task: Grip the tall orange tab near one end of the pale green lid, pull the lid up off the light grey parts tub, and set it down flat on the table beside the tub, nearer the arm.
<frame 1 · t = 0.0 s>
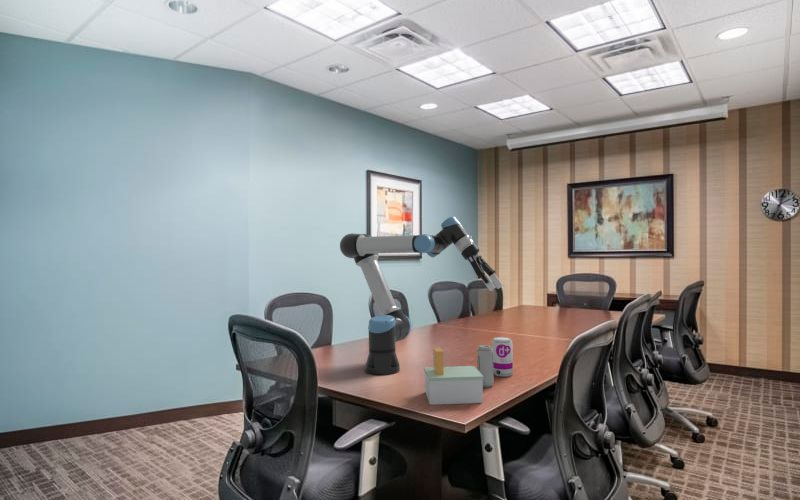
hand: (497, 288, 190), 36 cm above the table, tool tilted 35°, fingers open, 13 cm apart
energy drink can: (485, 386, 174), on the table
lid: (452, 377, 160), point 7 cm above the table, touching tub
tub: (452, 397, 160), on the table
supplement can: (502, 375, 189), on the table
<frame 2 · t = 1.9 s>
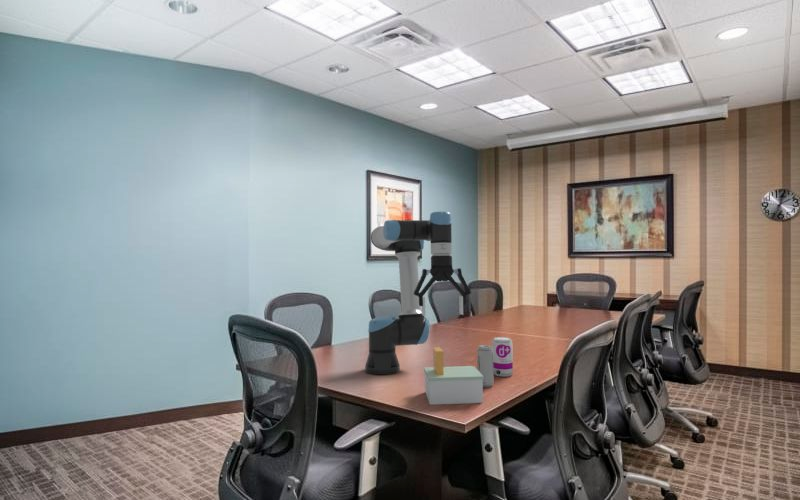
hand: (442, 315, 161), 29 cm above the table, tool pointing down, fingers open, 13 cm apart
nothing on the table moved.
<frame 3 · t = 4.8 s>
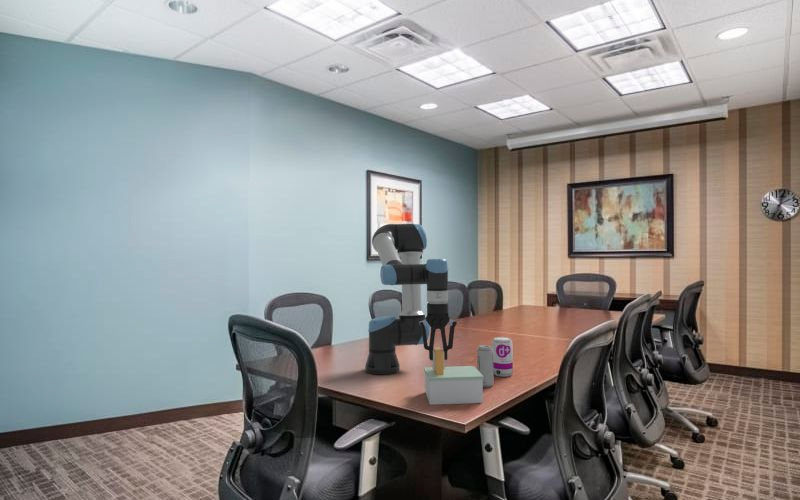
hand: (438, 369, 160), 10 cm above the table, tool pointing down, fingers closed on lid, 2 cm apart
lid: (452, 377, 160), point 7 cm above the table, touching gripper
everything else where it was.
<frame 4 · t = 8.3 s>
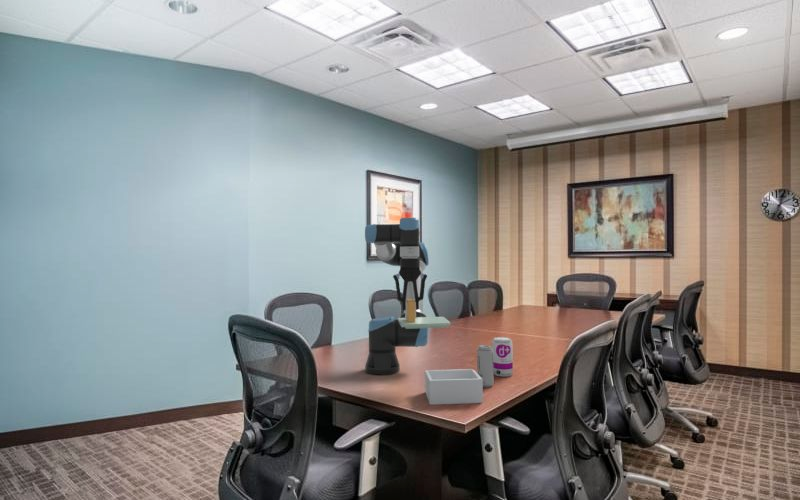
hand: (410, 318, 175), 26 cm above the table, tool pointing down, fingers closed on lid, 2 cm apart
lid: (423, 325, 176), point 23 cm above the table, touching gripper
everything else where it was.
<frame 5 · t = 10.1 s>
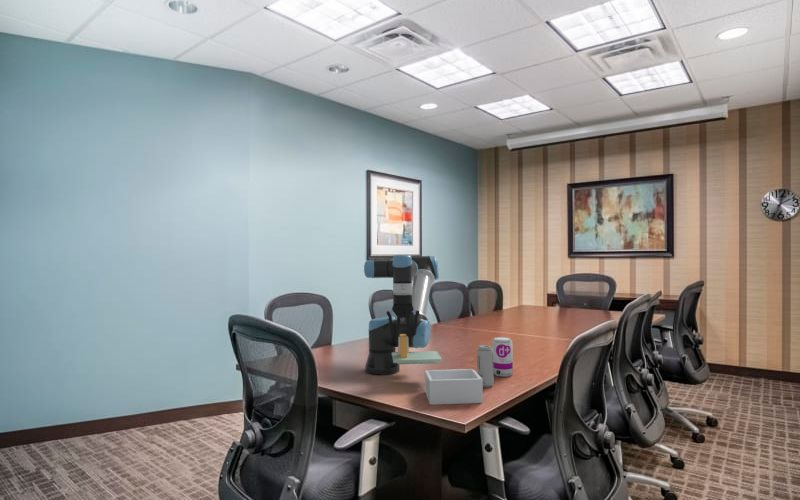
hand: (403, 353, 179), 12 cm above the table, tool pointing down, fingers closed on lid, 2 cm apart
lid: (416, 360, 179), point 9 cm above the table, touching gripper
everything else where it was.
when the fingers open (5 cm above the table, at t = 11.9 s): lid drops 2 cm, on the table.
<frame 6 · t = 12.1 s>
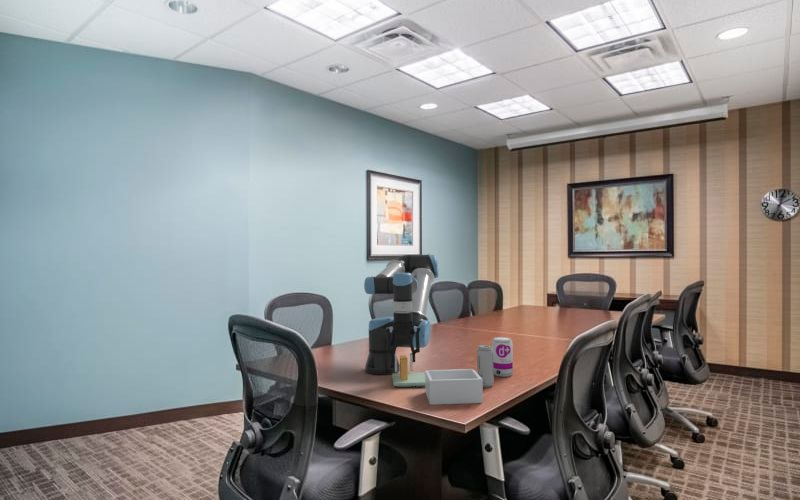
hand: (403, 370, 179), 5 cm above the table, tool pointing down, fingers open, 5 cm apart
lid: (416, 382, 179), on the table
everything else where it was.
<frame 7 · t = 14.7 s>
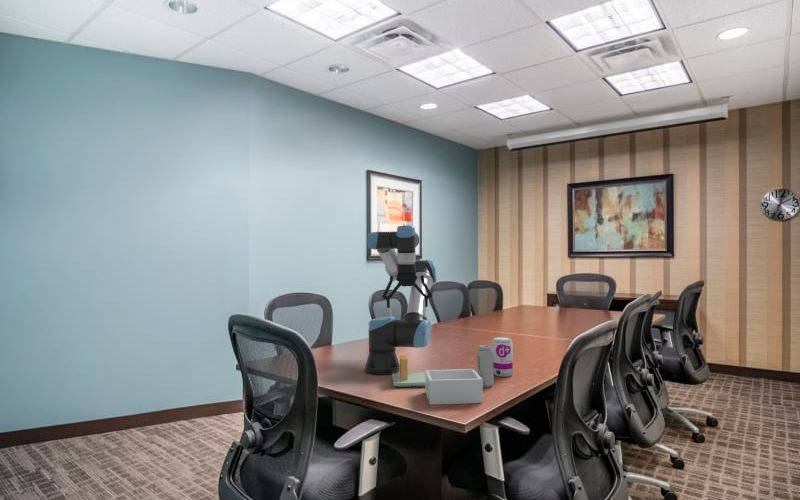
hand: (407, 315, 185), 26 cm above the table, tool pointing down, fingers open, 13 cm apart
nothing on the table moved.
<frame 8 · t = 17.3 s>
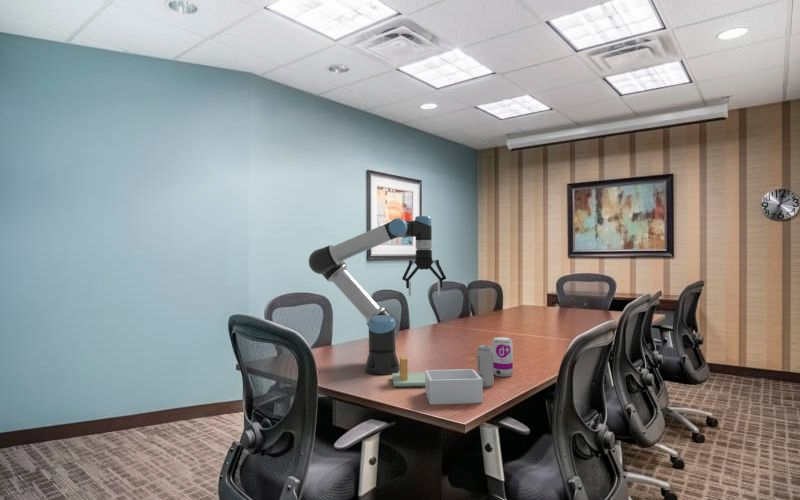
hand: (424, 295, 210), 32 cm above the table, tool pointing down, fingers open, 13 cm apart
nothing on the table moved.
at the end: lid inside the target area (1.0 cm from its centre), on the table; lid tilted 0°; the gripper is holding nothing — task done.
